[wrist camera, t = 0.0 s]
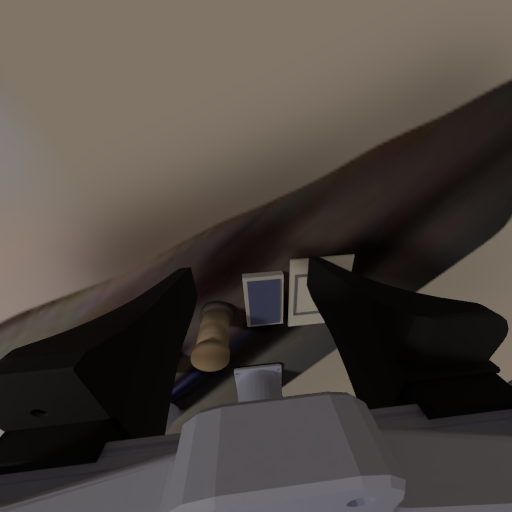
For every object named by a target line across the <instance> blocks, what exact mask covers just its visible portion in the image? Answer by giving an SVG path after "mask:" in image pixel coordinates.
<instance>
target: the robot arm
mask: <svg viewBox="0 0 512 512" xmlns="http://www.w3.org/2000/svg"><path fill="white" fill-rule="evenodd" d="M307 288H308V290H309V293H310V296H311V298H312V300H313V302H314V304H315V306H316V307H317V309H318V311H319V313H320V315H321V316H322V318H323V320H324V322H325V323H326V325H327V327H328V329H329V331H330V333H331V335H332V337H333V339H334V341H335V344H336V346H337V348H338V351H339V353H340V356H341V358H342V361H343V363H344V365H345V368H346V371H347V373H348V376H349V379H350V381H351V383H352V387H353V389H354V392H355V395H356V397H354V396H352V395H350V394H348V393H342V392H321V393H313V394H304V395H297V396H288V397H282V391H281V385H282V366H281V364H270V365H261V366H252V367H243V368H236V369H234V375H235V380H236V386H237V392H238V402H237V403H228V404H221V405H218V406H214V407H210V408H207V409H203V410H201V411H199V412H198V413H197V414H196V415H194V416H193V417H192V418H190V419H189V420H188V421H187V422H186V423H185V424H183V427H182V431H181V433H178V434H170V435H165V431H166V425H167V418H168V412H169V407H170V401H171V396H172V390H173V385H174V380H175V376H176V371H177V366H178V362H179V357H180V353H181V349H182V346H183V343H184V340H185V337H186V334H187V331H188V328H189V325H190V322H191V319H192V316H193V313H194V310H195V306H196V301H197V291H196V287H195V283H194V279H193V274H192V270H191V267H190V268H180V269H178V270H177V271H175V272H174V273H172V274H171V275H169V276H168V277H167V278H165V279H164V280H162V281H161V282H160V283H158V284H157V285H155V286H154V287H152V288H151V289H149V290H148V291H146V292H145V293H143V294H142V295H140V296H139V297H137V298H135V299H134V300H132V301H130V302H128V303H126V304H125V305H123V306H121V307H119V308H117V309H115V310H113V311H111V312H109V313H107V314H105V315H103V316H100V317H98V318H96V319H94V320H92V321H90V322H87V323H85V324H82V325H80V326H78V327H75V328H73V329H70V330H67V331H65V332H62V333H60V334H57V335H54V336H51V337H49V338H46V339H43V340H40V341H37V342H34V343H31V344H28V345H25V346H22V347H19V348H16V349H14V350H12V351H11V352H9V353H8V354H7V355H5V356H4V357H3V358H2V359H0V429H1V430H3V431H5V432H4V433H3V435H2V436H1V437H0V512H512V380H511V381H509V382H508V383H507V382H506V381H504V380H503V379H502V378H501V377H500V376H498V375H497V374H496V373H499V372H500V368H499V367H498V366H496V365H495V364H494V363H493V362H491V361H490V360H489V359H490V357H491V356H492V355H493V354H494V352H495V351H496V350H497V348H498V347H499V346H500V345H501V343H502V342H503V341H504V339H505V337H506V336H507V333H508V324H507V320H505V319H504V318H503V317H502V316H500V315H499V314H497V313H495V312H493V311H492V310H490V309H488V308H487V307H485V306H483V305H481V304H478V303H473V302H466V301H460V300H453V299H446V298H440V297H435V296H430V295H425V294H420V293H416V292H411V291H407V290H403V289H400V288H396V287H392V286H389V285H386V284H382V283H379V282H377V281H374V280H371V279H368V278H365V277H363V276H360V275H358V274H356V273H353V272H351V271H349V270H347V269H344V268H342V267H340V266H338V265H336V264H334V263H332V262H330V261H328V260H325V259H323V258H321V257H311V258H309V262H308V274H307Z"/></svg>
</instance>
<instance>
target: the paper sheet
mask: <svg viewBox="0 0 512 512" xmlns="http://www.w3.org/2000/svg"><path fill="white" fill-rule="evenodd" d="M354 256H355V255H354V254H349V255H337V256H325V257H321V258H323V259H325V260H328V261H330V262H332V263H334V264H336V265H338V266H340V267H342V268H344V269H347V270H349V271H352V266H353V261H354ZM308 262H309V258H302V259H290V278H289V310H288V326H297V325H307V324H316V323H325V322H324V320H323V318H322V316H321V315H320V313H319V311H318V309H317V307H316V306H315V304H314V302H313V300H312V298H311V296H310V293H309V290H308V288H307V274H308Z"/></svg>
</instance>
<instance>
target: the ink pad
mask: <svg viewBox="0 0 512 512" xmlns="http://www.w3.org/2000/svg"><path fill="white" fill-rule="evenodd" d="M242 279H243V289H244V298H245V308H246V318H247V327H250V326H260V325H270V324H280V323H283V283H284V275H283V272H282V271H273V272H261V273H250V274H242Z"/></svg>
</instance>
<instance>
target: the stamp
mask: <svg viewBox="0 0 512 512" xmlns="http://www.w3.org/2000/svg"><path fill="white" fill-rule="evenodd" d="M200 322H201V326H200V330H199V335H198V339H197V343H196V345H195V347H194V348H193V351H192V355H191V363H192V364H193V366H194V367H196V368H197V369H199V370H202V371H209V372H211V371H218V370H220V369H223V368H224V367H225V366H227V364H228V363H229V357H230V350H229V348H228V343H229V328H230V325H231V324H232V322H233V309H232V308H231V306H230V305H229V304H227V303H225V302H222V301H212V302H209V303H207V304H205V305H204V306H203V308H202V310H201V314H200Z"/></svg>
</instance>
